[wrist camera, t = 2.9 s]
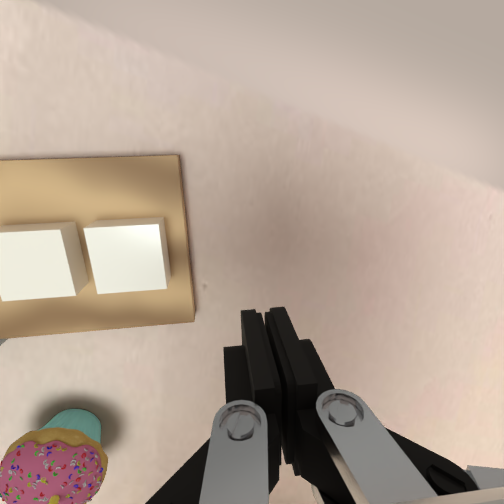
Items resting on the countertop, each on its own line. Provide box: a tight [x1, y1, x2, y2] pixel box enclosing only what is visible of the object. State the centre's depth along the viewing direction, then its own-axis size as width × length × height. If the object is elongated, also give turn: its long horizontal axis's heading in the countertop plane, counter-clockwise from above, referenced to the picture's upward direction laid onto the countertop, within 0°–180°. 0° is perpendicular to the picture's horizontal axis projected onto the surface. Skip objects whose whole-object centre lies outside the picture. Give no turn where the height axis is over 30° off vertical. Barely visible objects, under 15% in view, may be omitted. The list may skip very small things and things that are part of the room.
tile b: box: [0, 222, 89, 301], centre depth 22 cm, size 5×5×2 cm
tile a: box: [83, 217, 171, 294], centre depth 23 cm, size 5×5×2 cm
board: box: [0, 155, 195, 339], centre depth 24 cm, size 14×16×2 cm
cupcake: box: [0, 409, 108, 504], centre depth 25 cm, size 9×8×12 cm
